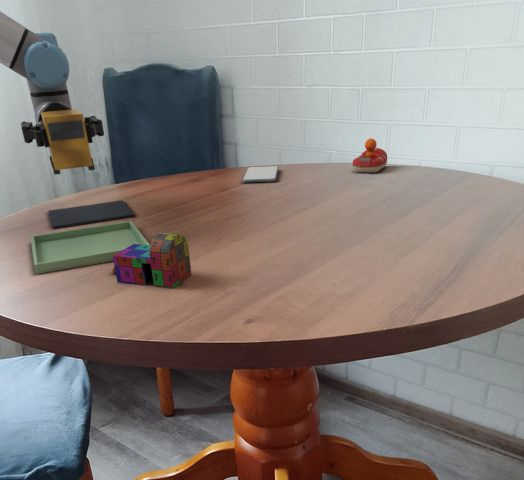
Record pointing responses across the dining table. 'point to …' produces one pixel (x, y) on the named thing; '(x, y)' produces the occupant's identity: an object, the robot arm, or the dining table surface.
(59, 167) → the toy van
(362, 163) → the toy boat
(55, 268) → the box
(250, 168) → the smartphone
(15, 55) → the robot arm
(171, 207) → the dining table surface
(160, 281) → the block
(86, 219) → the mat
